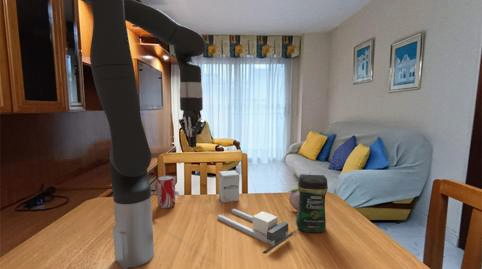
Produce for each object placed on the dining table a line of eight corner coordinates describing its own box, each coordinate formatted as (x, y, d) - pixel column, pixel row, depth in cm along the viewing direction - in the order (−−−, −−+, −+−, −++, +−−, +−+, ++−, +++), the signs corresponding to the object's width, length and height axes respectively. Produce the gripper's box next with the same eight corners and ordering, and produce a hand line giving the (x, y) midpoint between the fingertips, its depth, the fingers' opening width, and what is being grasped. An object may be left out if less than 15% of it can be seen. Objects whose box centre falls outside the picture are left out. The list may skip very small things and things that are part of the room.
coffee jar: (297, 233, 83) (299, 178, 80) (295, 221, 91) (296, 171, 88) (328, 234, 82) (330, 179, 80) (322, 223, 90) (325, 172, 87)
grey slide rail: (211, 225, 88) (211, 211, 88) (239, 212, 98) (239, 200, 98) (266, 253, 72) (266, 237, 71) (292, 234, 82) (293, 220, 81)
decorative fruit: (292, 217, 94) (293, 191, 93) (286, 207, 102) (286, 184, 101) (317, 215, 96) (318, 190, 94) (308, 206, 104) (309, 183, 102)
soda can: (173, 209, 101) (171, 180, 100) (155, 209, 101) (153, 180, 100) (177, 202, 108) (176, 175, 107) (161, 202, 108) (159, 175, 107)
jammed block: (252, 232, 81) (252, 216, 80) (262, 226, 85) (262, 211, 84) (267, 239, 77) (267, 222, 76) (277, 233, 81) (277, 216, 80)
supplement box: (222, 205, 105) (221, 175, 103) (218, 198, 112) (218, 170, 110) (239, 203, 107) (239, 174, 105) (235, 197, 114) (235, 169, 112)
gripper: (170, 96, 88) (172, 146, 90) (193, 96, 79) (195, 151, 81) (189, 96, 93) (190, 143, 95) (212, 96, 84) (213, 148, 86)
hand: (192, 146), depth 88 cm, fingers closed
